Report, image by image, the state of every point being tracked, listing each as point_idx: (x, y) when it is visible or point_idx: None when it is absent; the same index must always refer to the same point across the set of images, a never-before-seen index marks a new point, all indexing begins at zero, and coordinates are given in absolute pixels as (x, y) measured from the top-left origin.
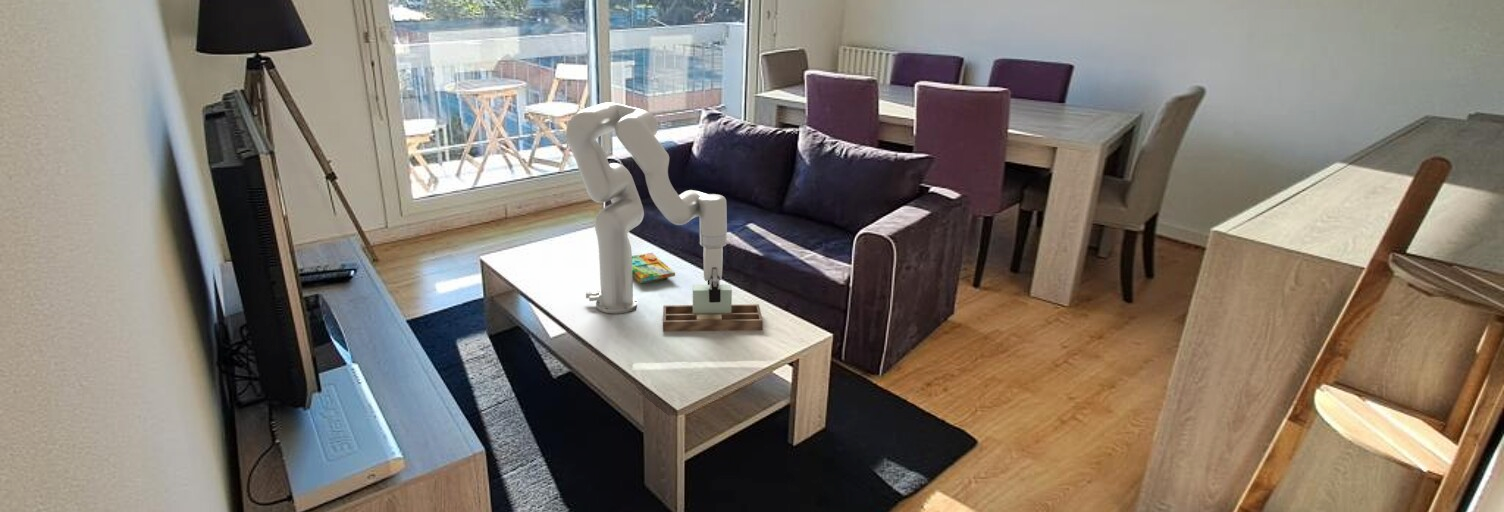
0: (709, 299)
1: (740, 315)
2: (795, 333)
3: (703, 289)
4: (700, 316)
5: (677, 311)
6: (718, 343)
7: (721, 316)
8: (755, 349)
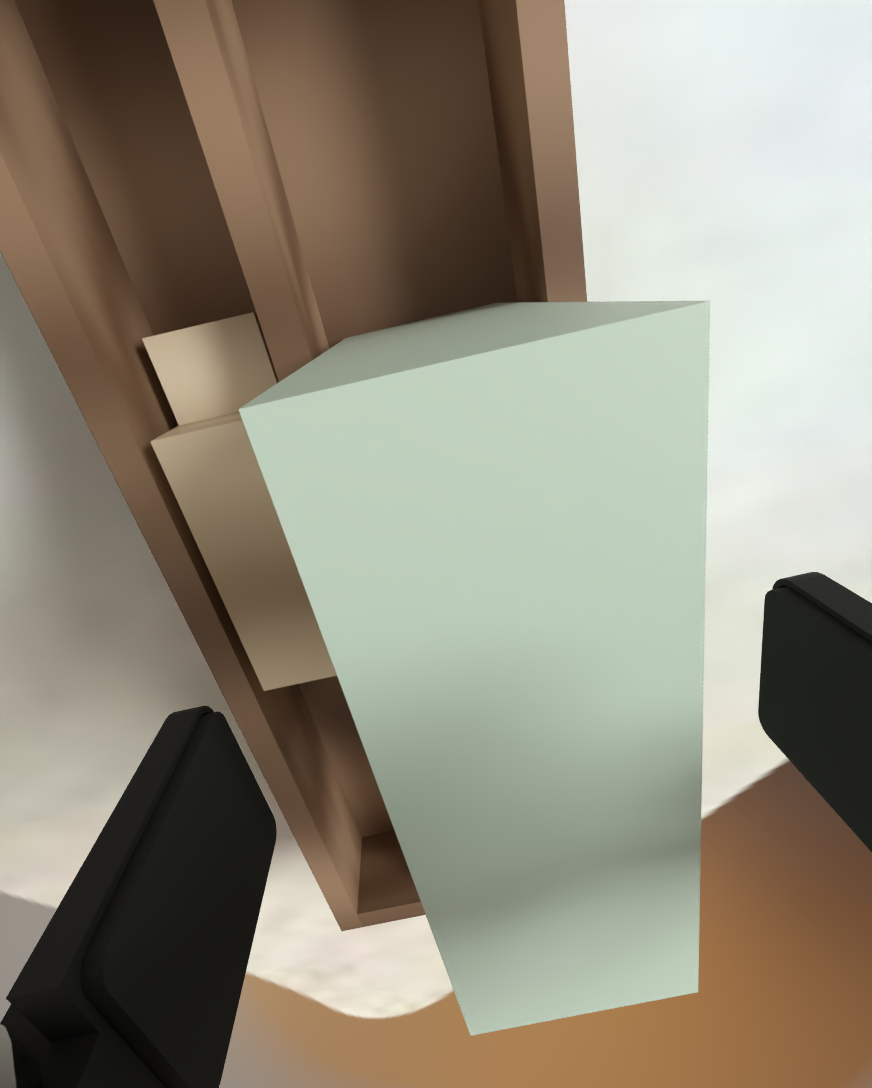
0: (154, 750)
1: None
2: (399, 945)
3: (397, 668)
4: (233, 473)
5: (498, 54)
6: (95, 615)
7: (308, 681)
8: None
